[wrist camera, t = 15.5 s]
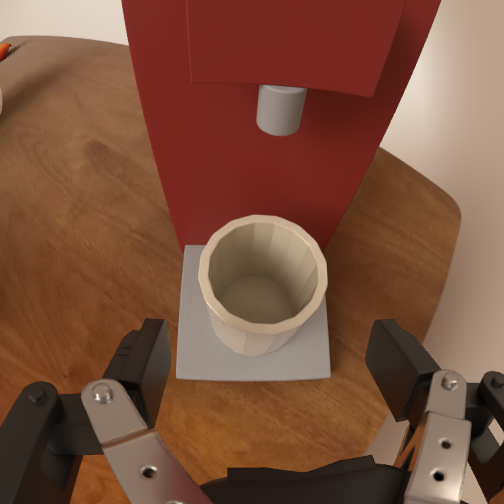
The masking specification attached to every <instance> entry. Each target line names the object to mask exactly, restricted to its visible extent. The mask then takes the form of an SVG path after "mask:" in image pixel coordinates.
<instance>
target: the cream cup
mask: <svg viewBox="0 0 504 504" xmlns="http://www.w3.org/2000/svg"><path fill="white" fill-rule="evenodd" d="M198 280H199V284H200V287H201V291H202V294H203V298H204V301H205V305H206V308H207V312H208V315H209V318H210V321H211V324H212V327H213V330H214V332H215V334H216V335H217V337H218V338H219V339H220V341H221V342H222V343H223V344H224V345H225V346H227V347H228V348H230V349H231V350H233V351H235V352H237V353H240V354H243V355H248V356H261V355H266V354H269V353H272V352H274V351H276V350H278V349H280V348H281V347H282V346H283V345H284V344H285V343H286V342H287V341H288V340H290V339H291V338H292V337H293V336H294V334H295V333H296V332H297V331H298V330H299V329H300V328H301V327H302V326H303V325H304V324H305V323H306V322H307V320H308V319H309V318H310V317H311V316H312V315H313V314H314V313H315V312H316V311H317V309H318V308H319V307H320V305H321V302H322V299H323V297H324V294H325V291H326V289H327V285H328V280H327V264H326V260H325V258H324V256H323V254H322V252H321V250H320V248H319V246H318V244H317V242H316V241H315V240H314V239H313V238H312V237H311V236H310V235H309V234H308V233H307V232H306V231H305V230H304V229H302V228H301V227H300V226H298V225H297V224H295V223H292V222H290V221H288V220H285V219H283V218H281V217H278V216H269V215H250V216H247V217H243V218H239V219H236V220H232V221H230V222H229V223H228V224H226V225H225V226H224V227H222V228H221V229H219V230H218V231H217V232H215V233H214V234H213V235H212V236H211V238H210V240H209V241H208V243H207V245H206V246H205V248H204V250H203V251H202V253H201V256H200V264H199V273H198Z"/></svg>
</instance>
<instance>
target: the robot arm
mask: <svg viewBox="0 0 504 504" xmlns="http://www.w3.org/2000/svg"><path fill="white" fill-rule="evenodd" d="M365 358H366V365H367V367H368V369H369V371H370V373H371V375H372V376H373V378H374V380H375V382H376V384H377V386H378V388H379V390H380V391H381V393H382V395H383V397H384V399H385V401H386V403H387V405H388V407H389V409H390V411H391V413H392V415H393V416H394V418H395V420H396V422H400V421H405V420H408V421H409V422H410V423H409V425H408V427H407V429H406V432H405V435H404V438H403V441H402V444H401V447H400V450H399V452H398V455H397V458H396V460H395V463H394V465H393V466H390V465H386V464H375V462H374V459H373V456H372V455H368V456H363V457H357V458H352V459H346V460H340V461H337V462H334V463H332V464H329V465H326V466H323V467H320V468H318V469H315V470H312V471H308V472H295V471H287V470H279V469H273V468H266V467H260V468H228V470H227V477H224V478H219V479H216V480H212V481H209V482H207V483H204V484H202V485H200V486H198V485H197V484H196V483H195V482H194V481H193V479H192V478H191V477H190V476H189V475H188V473H187V472H186V471H185V470H184V468H183V467H182V466H181V464H180V463H179V462H178V461H177V459H176V458H175V457H174V455H173V454H172V453H171V451H170V450H169V449H168V447H167V446H166V445H165V443H164V442H163V440H162V439H161V438H160V436H159V435H158V433H157V432H156V431H155V430H154V428H155V424H156V420H157V416H158V412H159V408H160V404H161V400H162V396H163V392H164V389H165V385H166V381H167V378H168V374H169V370H170V365H171V351H170V343H169V335H168V326H167V321H166V320H165V319H149V318H147V319H145V321H144V323H143V325H142V327H141V329H140V331H136V330H132V331H131V332H130V333H128V334H127V335H126V336H125V337H123V339H122V341H121V343H120V345H119V348H117V350H116V352H115V355H114V356H113V358H112V360H111V362H110V363H109V365H108V367H107V369H106V371H105V373H104V375H103V377H102V379H98V380H95V381H92V382H90V383H89V384H87V385H86V386H85V387H84V389H83V390H82V393H78V394H58V392H57V389H56V388H55V387H54V385H52V384H50V383H48V382H35V383H32V384H30V385H28V386H26V387H25V388H24V389H23V390H22V392H21V393H20V395H19V396H18V398H17V400H16V401H15V403H14V405H13V406H12V408H11V410H10V411H9V413H8V415H7V417H6V418H5V420H4V422H3V424H2V425H1V427H0V504H70V500H71V496H72V492H73V489H74V485H75V482H76V478H77V475H78V471H79V468H80V465H81V462H82V458H83V455H98V454H105V456H106V458H107V460H108V462H109V464H110V466H111V468H112V470H113V472H114V474H115V475H116V477H117V479H118V481H119V483H120V485H121V486H122V488H123V490H124V492H125V493H126V495H127V497H128V498H129V500H130V502H131V503H132V504H468V503H466V502H464V501H462V500H460V498H461V493H462V489H463V484H464V478H465V473H466V467H467V461H468V463H469V465H470V467H471V469H472V471H473V473H474V475H475V477H476V479H477V481H478V484H479V486H480V488H481V490H482V492H483V494H484V496H485V498H486V501H487V503H488V504H504V441H503V443H502V445H501V446H499V444H498V442H497V441H496V439H495V437H494V436H493V434H492V433H491V431H490V430H489V428H488V427H489V425H490V424H491V422H492V421H493V419H494V418H495V419H496V421H497V422H498V424H499V425H500V427H501V428H502V430H503V432H504V374H502V373H500V372H495V371H489V372H487V373H485V374H484V377H483V378H482V380H481V382H480V383H466V381H465V379H464V378H463V377H462V376H461V375H460V374H458V373H457V372H455V371H452V370H442V369H441V368H440V367H439V366H438V364H437V363H436V362H435V361H434V359H433V358H432V357H431V356H430V355H429V353H428V352H427V351H425V348H424V347H423V346H422V345H420V342H419V341H418V340H417V339H416V337H415V336H413V335H412V334H410V333H409V332H407V331H406V330H403V329H402V328H401V327H400V325H399V324H398V323H397V322H396V321H395V320H394V319H383V320H376V321H375V322H374V324H373V327H372V331H371V335H370V339H369V342H368V346H367V350H366V356H365Z"/></svg>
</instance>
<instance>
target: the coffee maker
mask: <svg viewBox="0 0 504 504" xmlns="http://www.w3.org/2000/svg"><path fill="white" fill-rule="evenodd" d="M121 1H122V8H123V14H124V20H125V25H126V31H127V37H128V42H129V48H130V54H131V59H132V64H133V69H134V73H135V78H136V83H137V88H138V92H139V97H140V101H141V105H142V110H143V114H144V118H145V122H146V127H147V131H148V135H149V139H150V143H151V146H152V150H153V154H154V158H155V162H156V166H157V169H158V173H159V177H160V180H161V184H162V187H163V191H164V194H165V198H166V201H167V205H168V208H169V212H170V215H171V218H172V222H173V225H174V228H175V231H176V235H177V238H178V241H179V244H180V247H181V251H182V252H184V262H183V273H182V285H181V297H180V311H179V327H178V344H177V367H176V378H178V379H186V380H205V381H293V380H312V379H325V378H329V377H331V371H330V353H329V337H328V323H327V311H326V299H325V294H324V297H323V299H322V302H321V305H320V307H319V308H318V309H317V311H316V312H315V313H314V314H313V315H312V316H311V317H310V318H309V319H308V320H307V322H306V323H305V324H304V325H303V326H302V327H301V328H300V329H299V330H298V331H297V332H296V333H295V334H294V336H293V337H292V338H291V339H290V340H288V341H287V342H286V343H285V344H284V345H283V346H282V347H281V348H280V349H278V350H276V351H274V352H272V353H269V354H266V355H261V356H248V355H243V354H240V353H237V352H235V351H233V350H231V349H230V348H228V347H227V346H225V345H224V344H223V343H222V342H221V341H220V339H219V338H218V337H217V335H216V334H215V332H214V330H213V327H212V324H211V321H210V318H209V315H208V312H207V308H206V305H205V301H204V298H203V294H202V291H201V287H200V284H199V280H198V273H199V264H200V256H201V253H202V251H203V250H204V248H205V246H206V245H207V243H208V241H209V240H210V238H211V236H212V235H213V234H214V233H215V232H217V231H218V230H219V229H221V228H222V227H224V226H225V225H226V224H228V223H229V222H230V221H232V220H236V219H239V218H243V217H247V216H250V215H269V216H278V217H281V218H283V219H285V220H288V221H290V222H292V223H295V224H297V225H298V226H300V227H301V228H302V229H304V230H305V231H306V232H307V233H308V234H309V235H310V236H311V237H312V238H313V239H314V240H315V241H316V242H317V244H318V246H319V248H320V250H321V252H322V253H323V251H324V249H325V248H326V246H327V244H328V242H329V240H330V239H331V237H332V235H333V233H334V231H335V230H336V228H337V226H338V224H339V222H340V220H341V219H342V217H343V215H344V213H345V211H346V209H347V207H348V206H349V204H350V202H351V200H352V198H353V196H354V194H355V192H356V190H357V188H358V187H359V185H360V183H361V181H362V179H363V177H364V175H365V173H366V171H367V169H368V167H369V165H370V163H371V161H372V159H373V157H374V155H375V153H376V151H377V149H378V147H379V145H380V143H381V141H382V139H383V136H384V135H385V132H386V130H387V128H388V126H389V124H390V122H391V120H392V118H393V115H394V113H395V111H396V109H397V107H398V104H399V102H400V100H401V98H402V96H403V94H404V91H405V89H406V87H407V85H408V82H409V80H410V78H411V75H412V73H413V71H414V68H415V66H416V64H417V61H418V59H419V56H420V54H421V52H422V49H423V47H424V44H425V42H426V39H427V37H428V34H429V31H430V29H431V26H432V24H433V21H434V18H435V16H436V13H437V11H438V8H439V5H440V2H441V0H121Z"/></svg>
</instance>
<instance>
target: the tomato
mask: <svg viewBox="0 0 504 504" xmlns="http://www.w3.org/2000/svg"><path fill="white" fill-rule="evenodd" d="M10 46H11V44H8V43H4V44H1V45H0V61H1V60H3V59H5V58H6V57H5V55H6V53H7V51H8V50H9V47H10ZM11 47H12V46H11Z"/></svg>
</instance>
